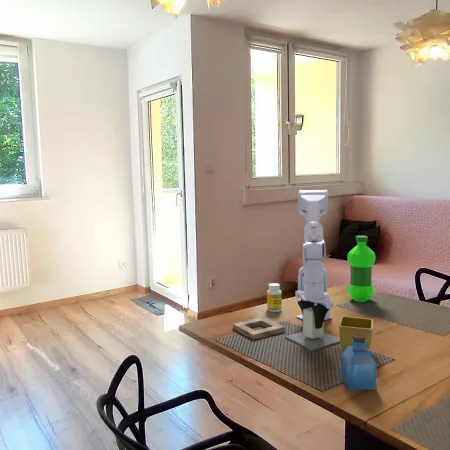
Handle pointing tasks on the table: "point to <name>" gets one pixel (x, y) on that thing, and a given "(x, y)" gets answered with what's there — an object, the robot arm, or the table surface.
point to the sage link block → (311, 324)
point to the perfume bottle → (359, 365)
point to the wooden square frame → (269, 330)
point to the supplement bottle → (274, 298)
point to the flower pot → (354, 330)
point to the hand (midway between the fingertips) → (313, 325)
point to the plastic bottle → (361, 270)
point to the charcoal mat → (313, 340)
